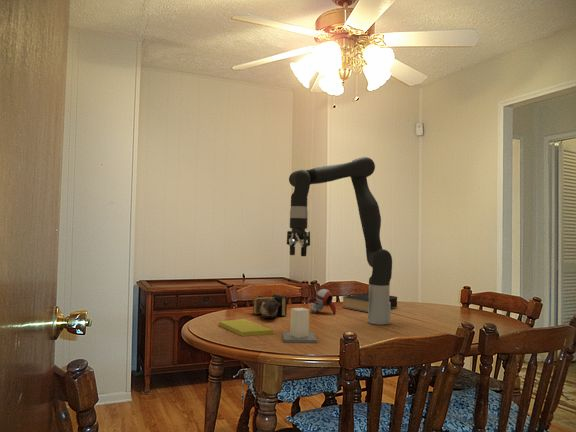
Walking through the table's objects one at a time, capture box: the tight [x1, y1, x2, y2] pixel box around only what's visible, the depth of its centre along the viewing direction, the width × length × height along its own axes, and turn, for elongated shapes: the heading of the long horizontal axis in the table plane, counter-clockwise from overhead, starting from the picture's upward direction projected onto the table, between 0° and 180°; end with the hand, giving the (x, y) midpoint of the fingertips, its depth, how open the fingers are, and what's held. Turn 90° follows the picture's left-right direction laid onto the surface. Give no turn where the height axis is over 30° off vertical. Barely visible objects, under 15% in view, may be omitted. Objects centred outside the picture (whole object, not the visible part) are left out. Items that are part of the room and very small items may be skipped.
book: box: [342, 292, 398, 313], centre depth 239 cm, size 17×25×7 cm
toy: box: [306, 288, 336, 316], centre depth 223 cm, size 14×15×14 cm
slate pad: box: [282, 331, 318, 344], centre depth 169 cm, size 12×12×1 cm
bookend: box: [252, 293, 288, 320], centre depth 208 cm, size 14×11×24 cm
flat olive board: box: [218, 318, 274, 337], centre depth 181 cm, size 12×2×24 cm
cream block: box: [289, 307, 310, 338], centre depth 169 cm, size 5×5×10 cm
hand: (297, 255), depth 188 cm, fingers open, 8 cm apart
